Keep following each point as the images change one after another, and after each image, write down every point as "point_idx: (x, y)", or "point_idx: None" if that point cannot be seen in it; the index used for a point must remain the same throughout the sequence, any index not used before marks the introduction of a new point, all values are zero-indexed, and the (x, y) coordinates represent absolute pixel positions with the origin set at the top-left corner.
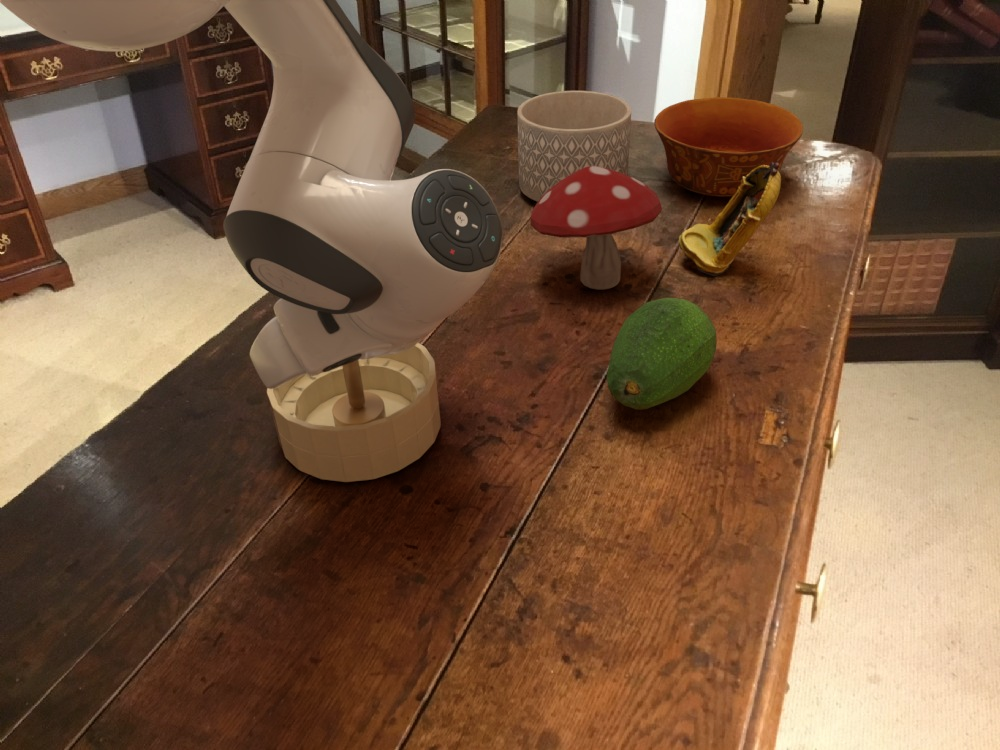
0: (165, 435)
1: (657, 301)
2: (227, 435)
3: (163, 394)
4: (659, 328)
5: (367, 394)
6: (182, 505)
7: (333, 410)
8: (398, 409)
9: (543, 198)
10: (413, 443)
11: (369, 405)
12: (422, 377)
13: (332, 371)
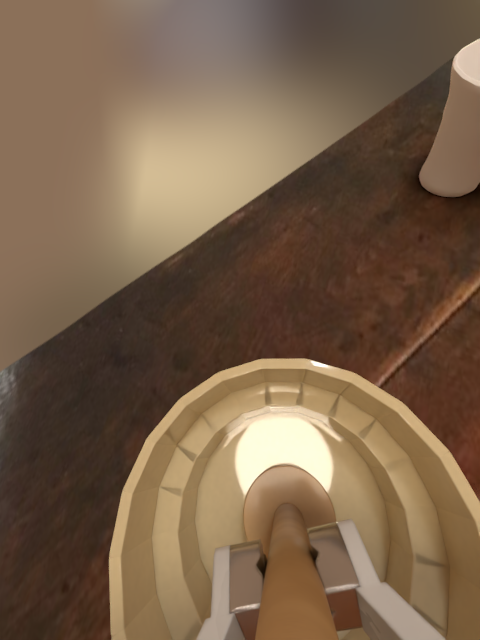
0: (78, 378)
1: None
2: (130, 414)
3: (106, 308)
4: None
5: (313, 487)
6: (31, 532)
7: (246, 502)
8: (355, 502)
9: None
10: None
11: (309, 525)
12: (432, 517)
13: (271, 404)
